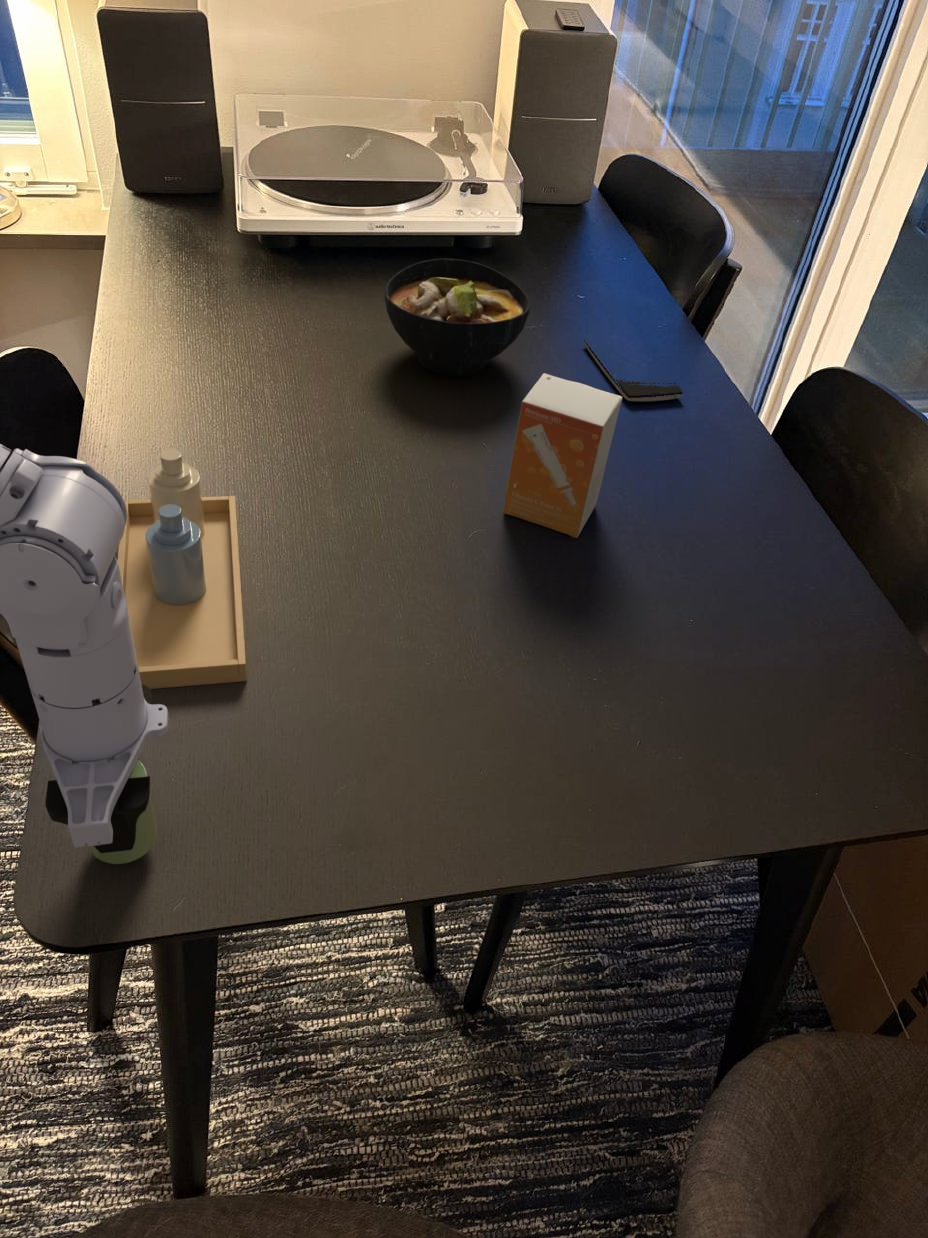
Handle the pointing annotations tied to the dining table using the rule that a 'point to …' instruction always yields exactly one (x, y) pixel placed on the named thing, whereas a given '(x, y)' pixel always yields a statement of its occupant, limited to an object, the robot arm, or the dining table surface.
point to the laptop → (639, 387)
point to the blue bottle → (176, 557)
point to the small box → (560, 453)
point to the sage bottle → (144, 830)
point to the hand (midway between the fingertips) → (118, 814)
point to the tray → (193, 633)
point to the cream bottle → (176, 487)
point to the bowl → (455, 313)
